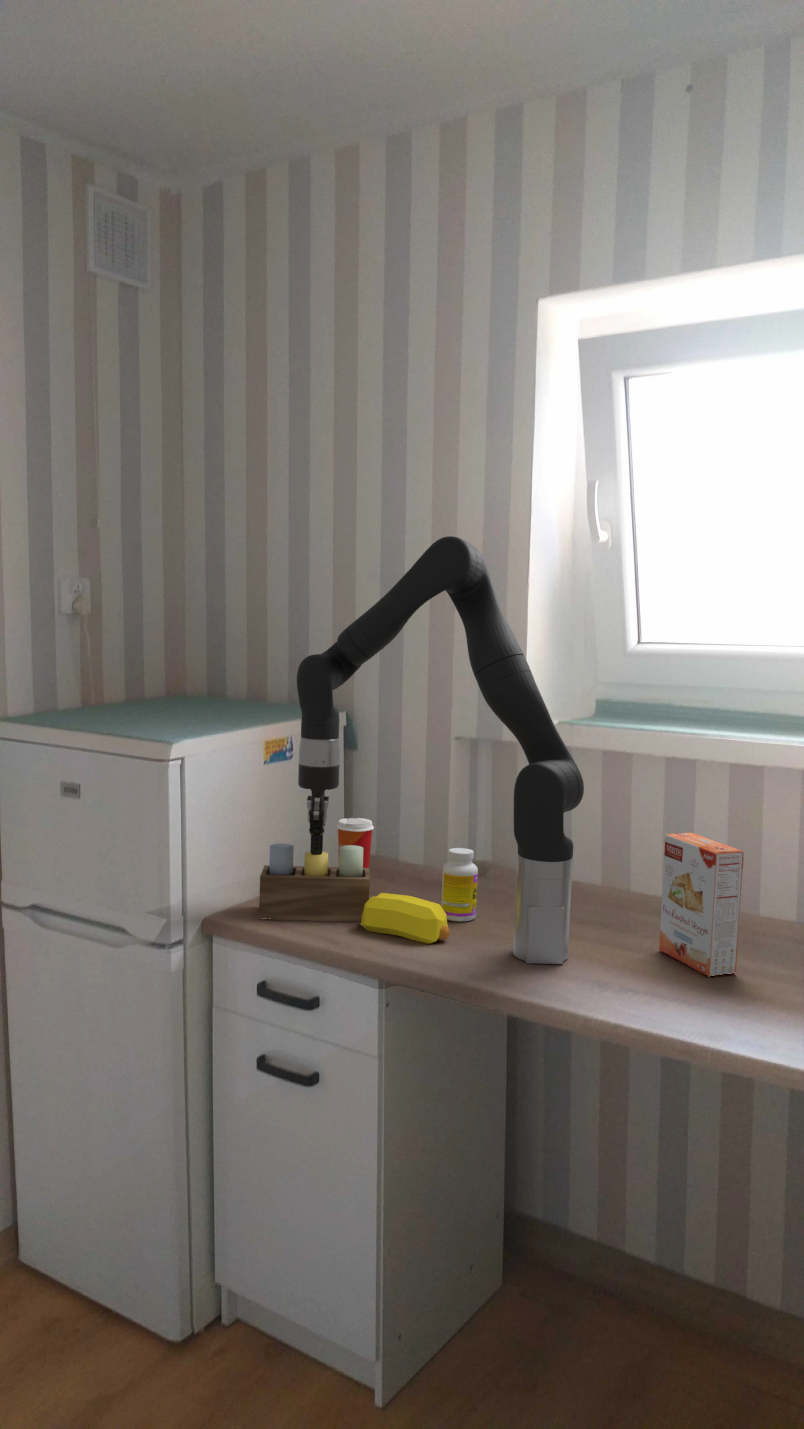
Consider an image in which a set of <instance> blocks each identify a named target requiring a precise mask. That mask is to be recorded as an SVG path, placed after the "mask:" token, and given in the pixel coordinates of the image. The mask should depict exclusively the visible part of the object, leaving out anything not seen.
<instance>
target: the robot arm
mask: <svg viewBox="0 0 804 1429" xmlns="http://www.w3.org/2000/svg"><path fill="white" fill-rule="evenodd" d="M443 592H446V593H447V595H448V596H449V598H450V599H451V602H452V603H453V605H454V607H455V609H456V611H457V612H458V615H459V617H460V619H461V622H462V624H463V627H464V633H465V639H466V645H467V655H468V658H469V662H470V667H471V670H472V673H473V676H474V678H475V681H476V682H477V685H478V688H479V690H480V692H481V695H482V696H483V699H484V700H485V702H486V704H487V705H488V707H489V708H490V709H491V711H492V712H493V714H495V716H496V717H497V718H498V719H499V720H500V721H501V722H502V723H503V725H505V726H506V728H507V729H508V730H509V731H510V732H511V733H512V734H513V736H514V738H516V740H517V742H519V744H520V746H521V748H522V751H523V753H524V755H525V757H526V760H527V763H528V764H527V765H526V766H524V767H523V768H522V769H520V771H519V772H518V775H517V777H516V779H515V784H514V789H513V835H514V839H515V842H516V844H517V845H516V846H517V851H516V852H517V853H516V855H517V857H516V858H517V859H516V874H515V876H516V877H515V879H516V880H515V897H514V917H513V918H514V920H513V943H512V944H513V945H512V954H513V956H515V958H517V959H519V960H522V961H524V962H525V964H545V965H548V964H552V965H563V964H564V961H566V960H567V959H568V956H569V939H570V937H569V936H570V935H569V934H570V919H571V916H570V915H571V914H570V913H571V897H572V880H573V878H572V875H573V863H574V862H573V859H574V858H573V857H574V843H573V840H572V839H571V838H569V837H568V836H566V834H565V832H564V831H565V830H564V822H565V821H564V813H567V812H571V811H572V810H574V809H576V808H578V806H579V805H580V804H581V801H582V800H583V797H584V793H585V792H584V791H585V787H584V786H585V785H584V779H583V776H582V774H581V771H580V770H579V767H578V765H577V763H576V762H575V760H574V758H573V756H572V755H571V753H570V750H569V749H568V748H567V745H566V744H565V743H564V740H563V739H562V737H561V735H560V733H559V731H558V730H557V728H556V726H555V723H554V721H553V719H552V717H551V714H550V712H549V710H548V707H547V705H546V703H545V701H544V699H543V696H542V694H541V691H540V690H539V688H538V685H537V683H536V680H535V678H534V675H533V672H532V670H531V668H530V665H529V663H528V661H527V658H526V657H525V655H524V652H523V650H522V648H521V646H520V643H519V641H518V639H517V637H516V636H515V633H514V632H513V628H511V626H510V623H509V622H508V620H507V618H506V616H505V615H504V612H503V610H502V608H501V606H500V603H499V600H498V597H497V595H496V592H495V588H494V585H493V582H492V579H491V576H490V572H489V569H488V566H487V563H486V560H485V558H484V556H483V554H482V552H481V551H480V550H479V549H478V548H477V547H476V546H474V545H473V544H471V543H470V542H468V541H466V540H465V539H462V538H460V537H458V536H452V535H450V536H443V537H441V538H439V539H436V540H435V541H434V542H433V543H432V544H431V545H430V546H428V548H427V549H426V550H425V551H424V552H423V553H422V555H421V556H420V557H419V558H418V559H417V561H416V562H415V563H413V565H412V566H411V567H410V569H409V570H407V572H406V573H405V574H404V575H403V576H402V577H401V578H400V579H399V580H398V581H397V582H396V583H395V584H394V585H393V587H391V589H390V590H388V591H387V592H386V593H385V594H384V595H383V596H382V598H380V599H379V600H378V601H377V602H376V603H374V604H373V606H371V607H370V608H369V609H368V610H366V611H365V612H364V613H363V614H361V615H360V616H359V617H358V618H357V619H355V620H354V621H353V622H351V623H350V624H349V625H348V626H347V627H346V628H345V629H343V630H342V631H341V633H339V635H338V636H337V639H336V641H335V642H334V643H333V644H332V645H331V646H330V647H328V649H327V650H325V651H323V652H322V653H314V654H311V655H308V656H306V657H305V658H303V659H302V661H301V662H300V663H299V666H298V668H297V673H296V688H297V694H298V702H299V707H300V710H301V711H300V712H301V719H300V720H301V721H300V722H301V723H300V743H299V747H298V749H299V750H298V773H297V774H298V777H297V778H298V779H297V785H298V786H299V788H301V789H305V790H310V792H311V795H308V796H307V798H306V808H307V822H308V823H309V829H308V831H309V835H310V851H309V852H310V853H311V854H312V855H321V854H322V852H324V851H323V850H324V849H323V848H324V834H325V826H326V823H327V821H328V820H327V819H328V809H329V803H330V796H327V795H326V791H327V790H328V791H331V790H335V789H337V788H338V787H340V786H339V785H340V761H341V760H340V756H341V755H340V752H341V750H340V712H339V710H338V708H336V707H335V706H334V696H333V691H334V690H336V689H338V688H340V687H341V686H343V685H344V684H345V683H346V682H347V681H348V680H349V679H351V677H352V676H353V675H354V674H355V673H356V672H357V671H358V670H359V669H360V668H361V666H362V665H364V664H365V663H366V662H368V661H369V660H370V659H373V657H374V656H376V655H377V654H378V653H379V652H380V651H382V650H383V649H384V648H385V647H387V646H388V645H389V644H390V643H391V642H392V641H393V640H394V639H395V638H396V637H397V636H399V635H398V634H399V633H400V632H401V631H402V629H403V628H404V626H405V625H406V624H407V623H408V621H409V620H410V618H412V616H413V615H414V614H415V613H416V612H417V611H418V610H419V609H420V608H421V607H422V606H423V605H424V604H426V603H427V602H429V601H430V600H432V599H433V598H434V597H436V596H438V595H440V594H441V593H443Z"/></svg>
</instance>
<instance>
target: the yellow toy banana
mask: <svg viewBox="0 0 804 1429" xmlns="http://www.w3.org/2000/svg"><path fill="white" fill-rule="evenodd" d="M360 926H361V927H362V928H364V929H365V930H366V931H368V932H373V933H374V932H375V933H378V934H379V933H380V934H386V935H394V936H400V937H403V938H405V939H408V940H413V941H415V942H419V943H423V944H432V943H434V942H437V941H445V940H448V938H449V936H450V928H449V926H448V920H447V916H446V913H445V912H444V910H443V909H442V907H441V904H439V903H436V902H433V901H430V900H426V899H422V898H419V897H417V896H416V897H415V896H411V895H407V894H397V893H387V892H380V893H379V894H378V895H377V896H376V895H375V896H371V897H369V900H368V901H367V902H366V903H365V905H364V910H363V912H362V914H361V922H360Z"/></svg>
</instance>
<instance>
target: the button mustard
mask: <svg viewBox="0 0 804 1429" xmlns="http://www.w3.org/2000/svg"><path fill="white" fill-rule="evenodd" d="M303 864H304V865H303V866H304V876H328V867H329V853H328V852H326V851H322V854H321V855H312V854H311V853H310V851H306V852H304V862H303Z"/></svg>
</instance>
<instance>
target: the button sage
mask: <svg viewBox="0 0 804 1429" xmlns="http://www.w3.org/2000/svg"><path fill="white" fill-rule="evenodd" d="M338 867H339V877H363V847H361V846H355V845H346V846H341V847H340V858H339V857H338Z"/></svg>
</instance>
